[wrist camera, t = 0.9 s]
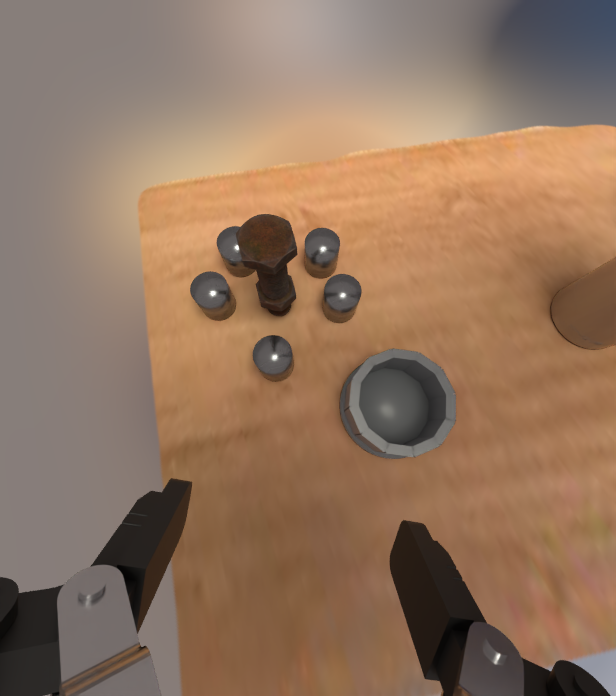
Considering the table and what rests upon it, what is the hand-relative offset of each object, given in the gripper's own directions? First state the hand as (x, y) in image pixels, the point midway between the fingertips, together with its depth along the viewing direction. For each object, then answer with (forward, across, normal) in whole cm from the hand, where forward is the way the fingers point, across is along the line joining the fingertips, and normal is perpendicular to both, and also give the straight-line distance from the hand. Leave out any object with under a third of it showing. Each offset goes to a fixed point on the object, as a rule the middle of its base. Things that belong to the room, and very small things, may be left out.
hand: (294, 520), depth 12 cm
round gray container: (+26, -13, +4) cm, 29 cm away
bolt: (+33, +3, -4) cm, 34 cm away
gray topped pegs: (+34, +4, -5) cm, 34 cm away
